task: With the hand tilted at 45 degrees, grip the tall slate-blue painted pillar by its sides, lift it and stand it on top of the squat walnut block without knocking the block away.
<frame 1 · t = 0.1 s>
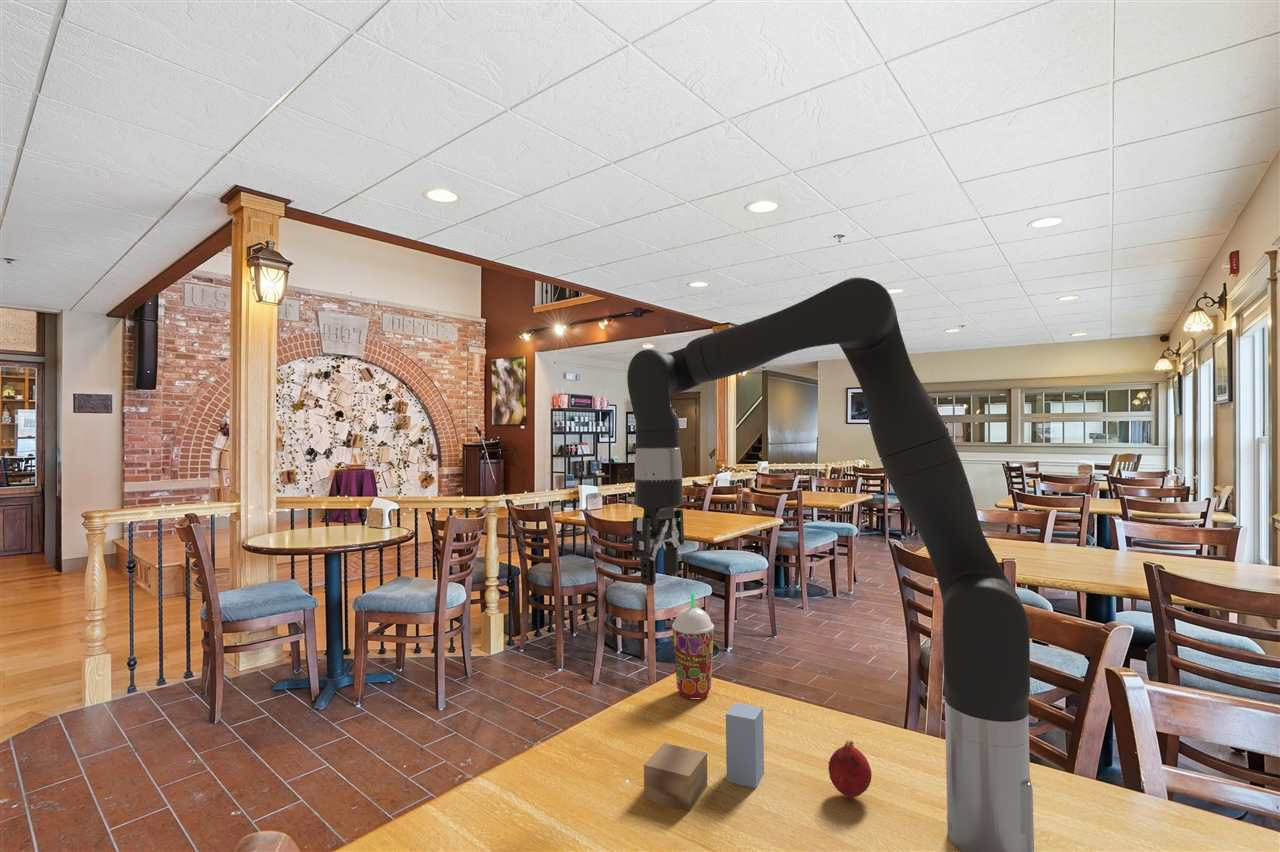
hand: (660, 578, 98), 29 cm above the table, tool pointing down, fingers open, 8 cm apart
pillar: (745, 777, 94), on the table
walnut block: (676, 793, 90), on the table
onion: (850, 799, 88), on the table
smoothie: (694, 695, 124), on the table
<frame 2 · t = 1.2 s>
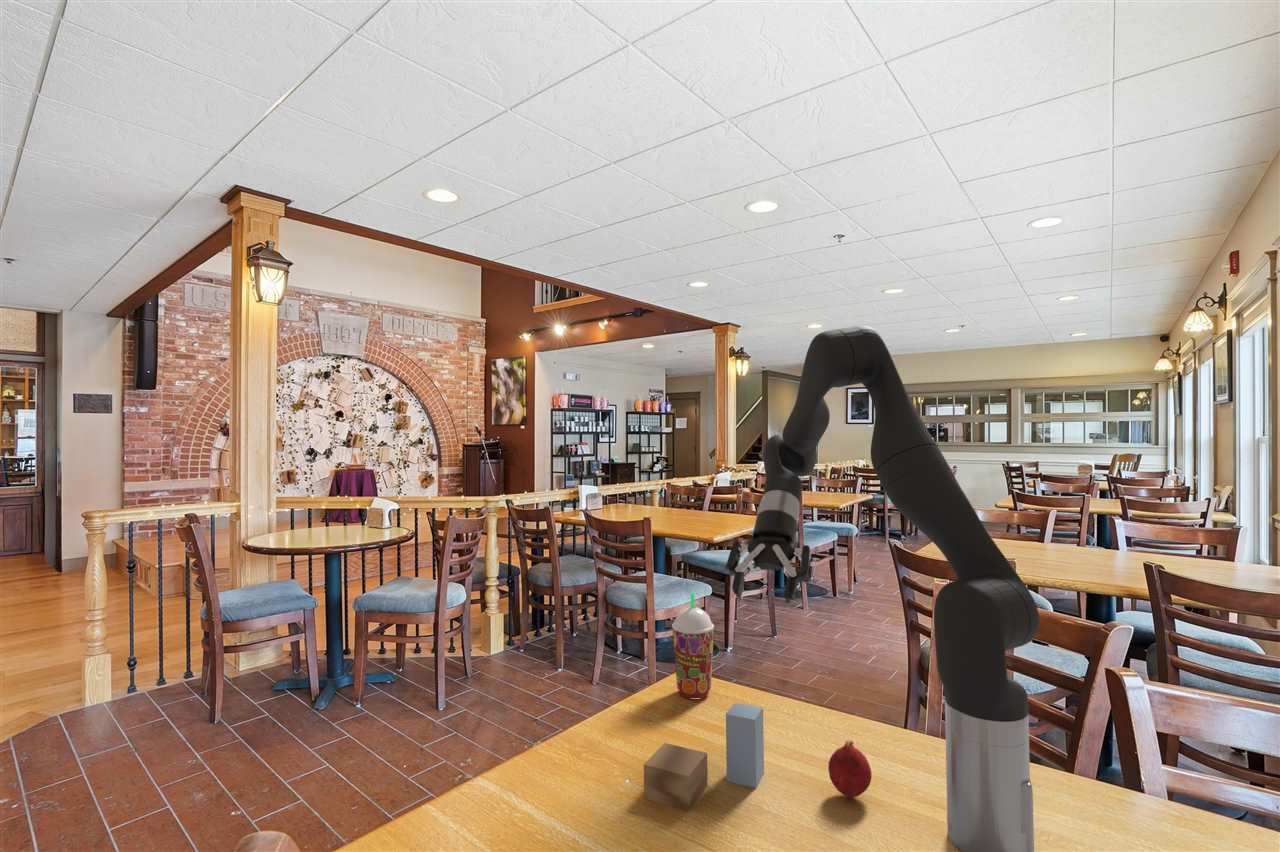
hand: (762, 597, 104), 24 cm above the table, tool tilted 45°, fingers open, 8 cm apart
nothing on the table moved.
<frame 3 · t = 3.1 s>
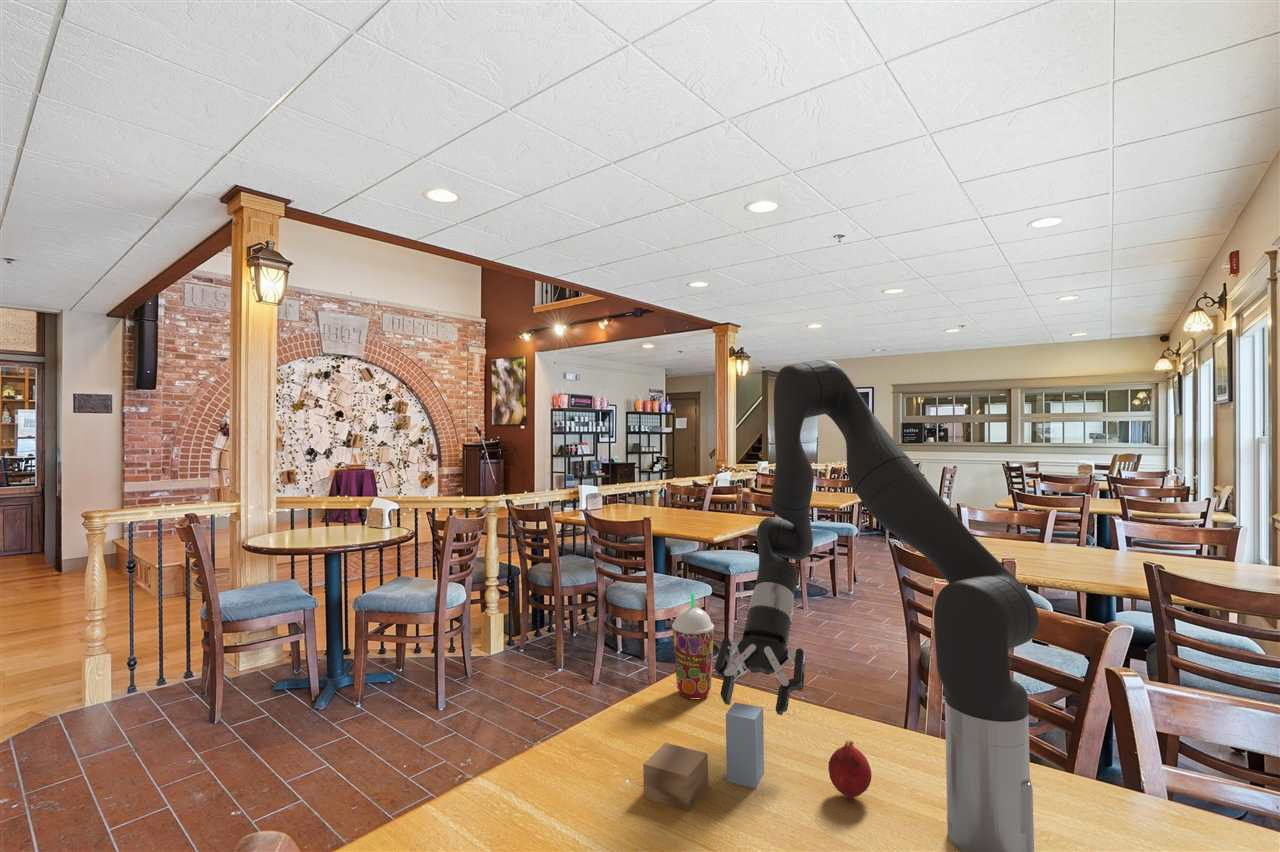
hand: (752, 707, 97), 9 cm above the table, tool tilted 45°, fingers open, 8 cm apart
nothing on the table moved.
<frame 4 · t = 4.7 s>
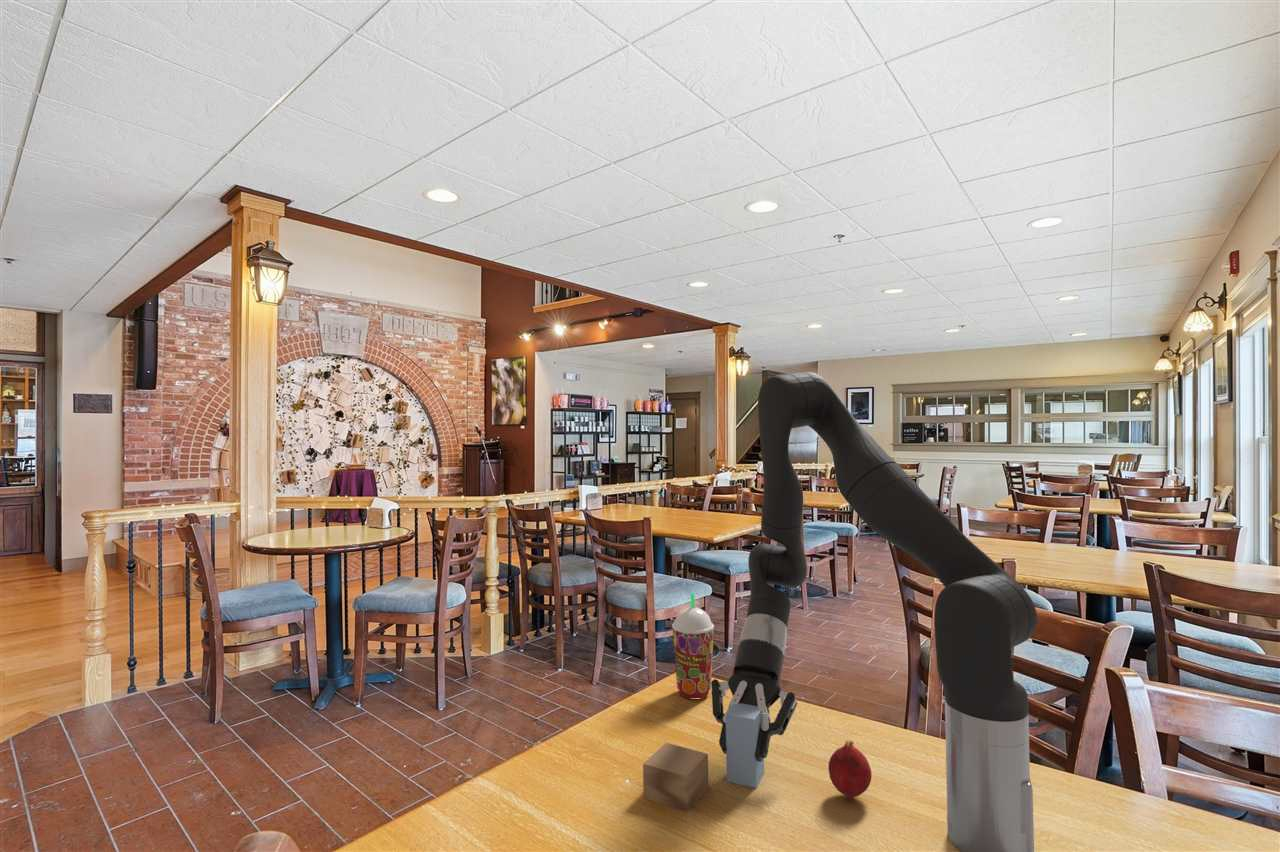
hand: (741, 755, 92), 4 cm above the table, tool tilted 45°, fingers closed on pillar, 4 cm apart
pillar: (745, 777, 94), on the table, touching gripper
everything else where it was.
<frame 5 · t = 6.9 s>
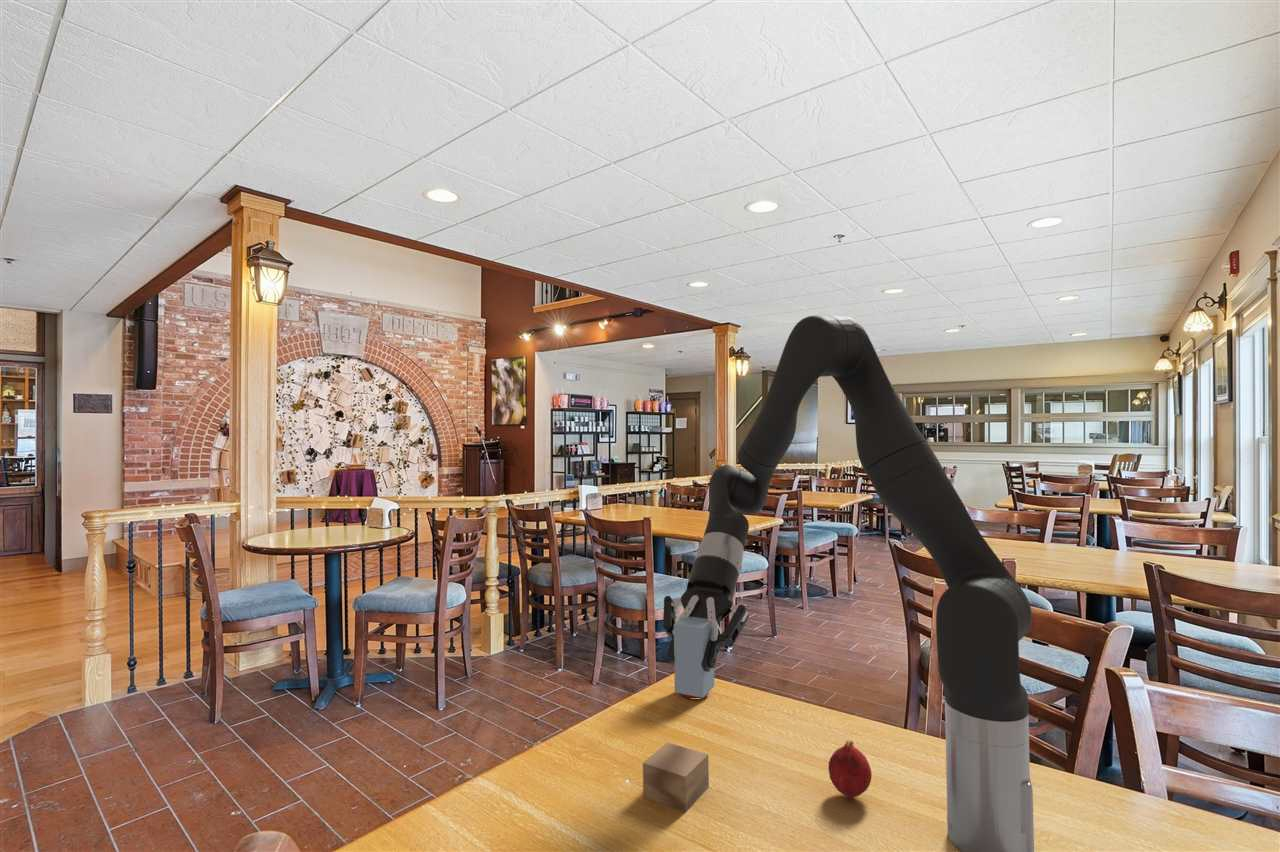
hand: (689, 665, 90), 18 cm above the table, tool tilted 45°, fingers closed on pillar, 4 cm apart
pillar: (694, 689, 92), point 14 cm above the table, touching gripper
everything else where it was.
when the fingers open (10 cm above the table, at t = 9.3 s): pillar drops 1 cm, resting on walnut block.
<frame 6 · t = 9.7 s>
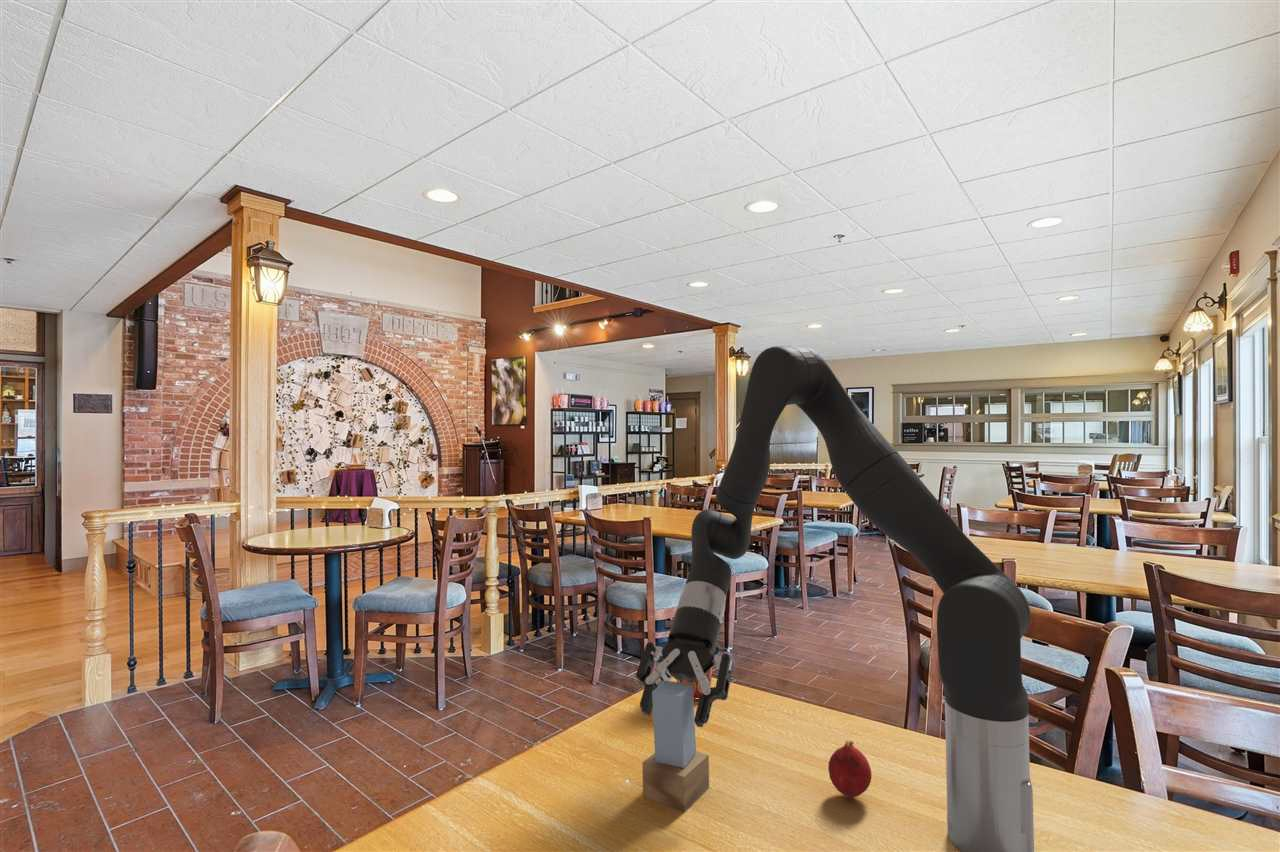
hand: (671, 719, 89), 11 cm above the table, tool tilted 45°, fingers open, 8 cm apart
pillar: (676, 757, 90), point 5 cm above the table, touching walnut block
walnut block: (676, 793, 90), on the table, touching pillar
everything else where it was.
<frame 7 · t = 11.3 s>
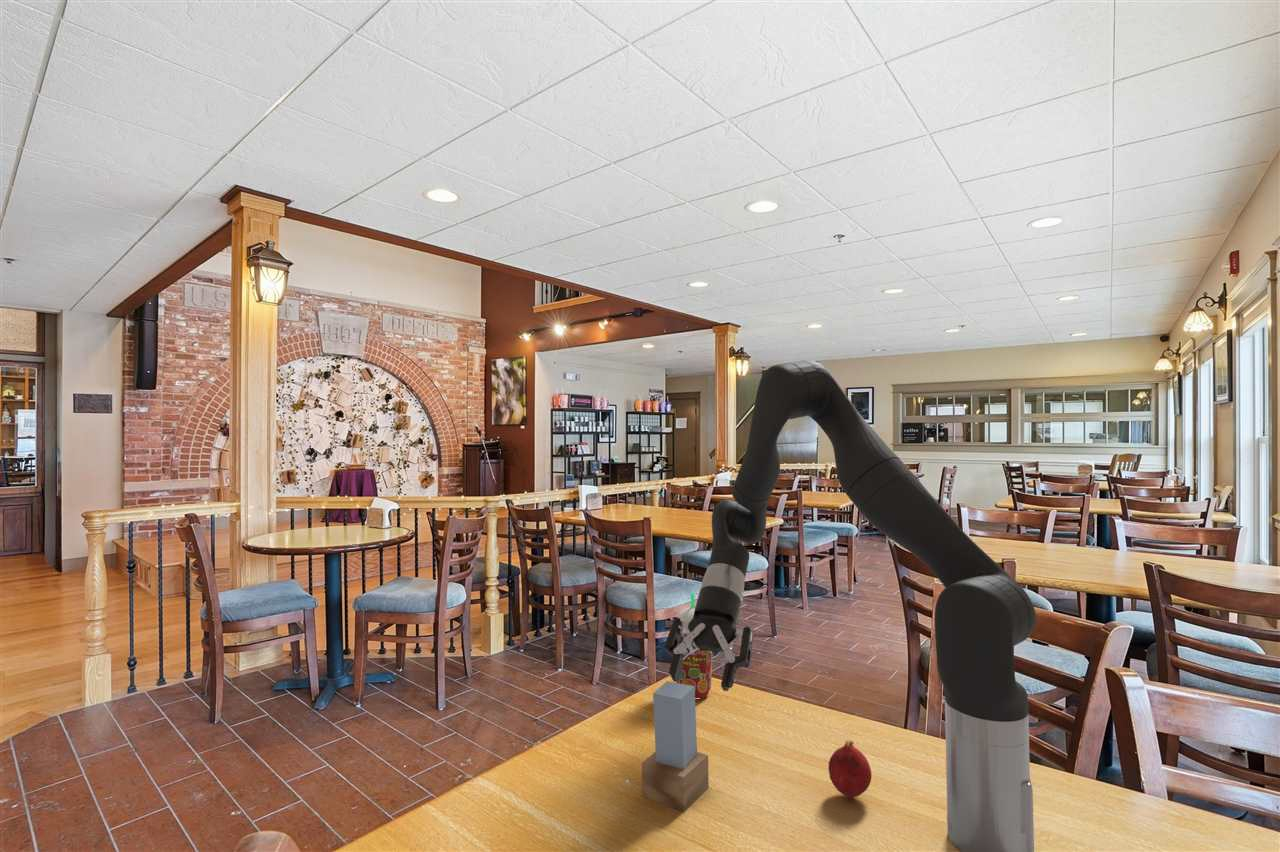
hand: (699, 684, 99), 12 cm above the table, tool tilted 45°, fingers open, 8 cm apart
nothing on the table moved.
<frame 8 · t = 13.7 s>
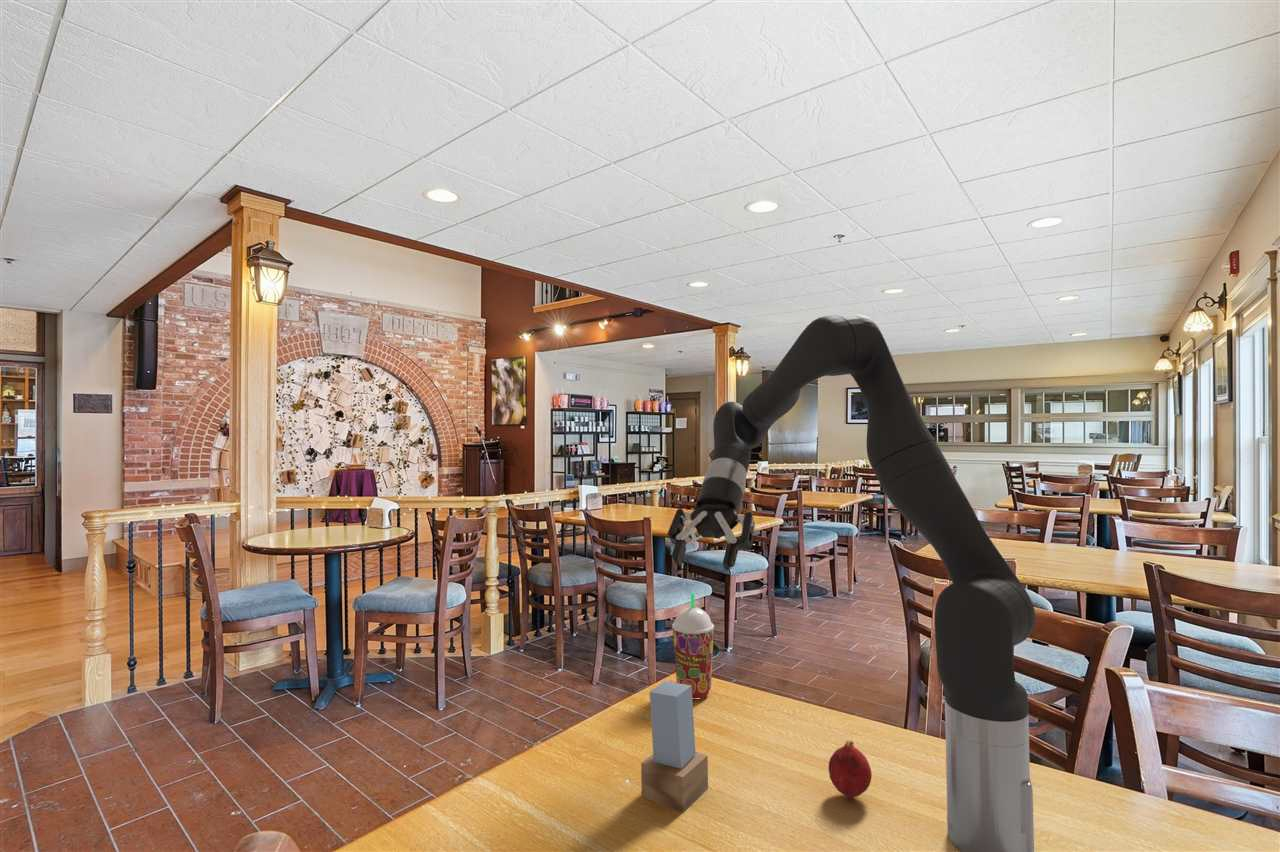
hand: (701, 565, 101), 31 cm above the table, tool tilted 45°, fingers open, 8 cm apart
nothing on the table moved.
at the end: pillar 0.0 cm off-centre on the walnut block, point 5.0 cm above the walnut block's base; pillar tilted 1°; walnut block moved 0.3 cm from its start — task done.
